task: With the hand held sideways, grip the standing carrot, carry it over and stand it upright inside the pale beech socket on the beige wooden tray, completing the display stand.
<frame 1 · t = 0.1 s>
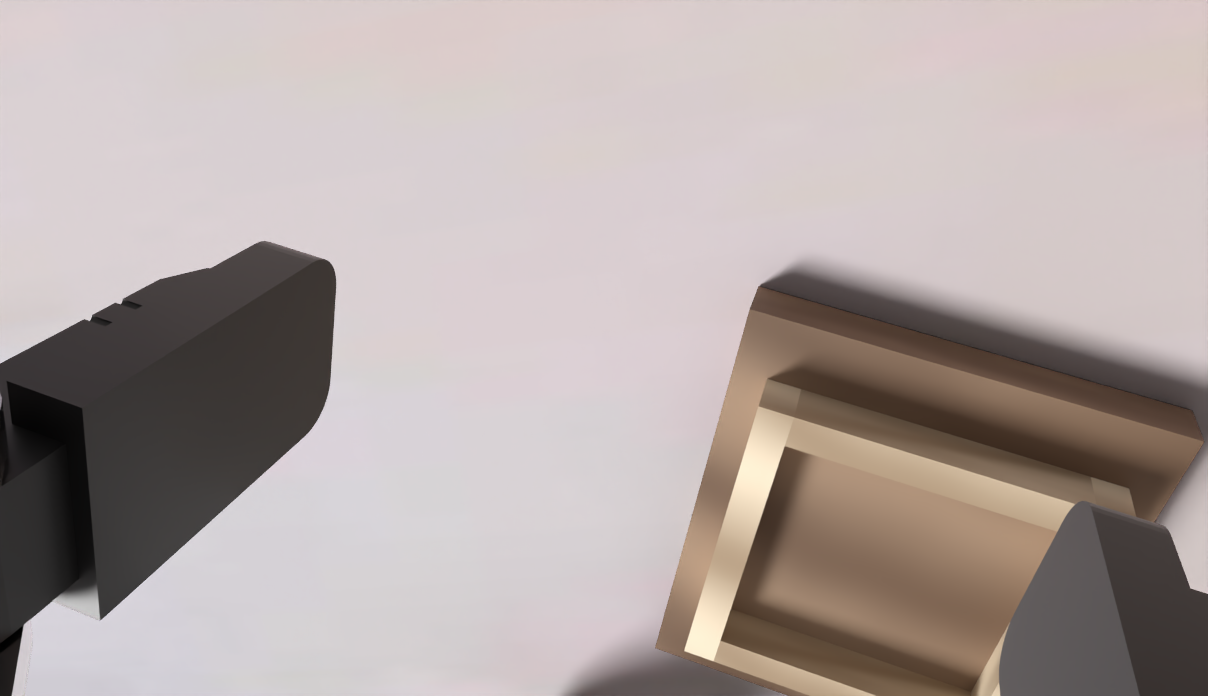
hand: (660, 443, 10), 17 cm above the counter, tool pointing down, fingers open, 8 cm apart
beige wooden tray: (888, 530, 31), on the counter
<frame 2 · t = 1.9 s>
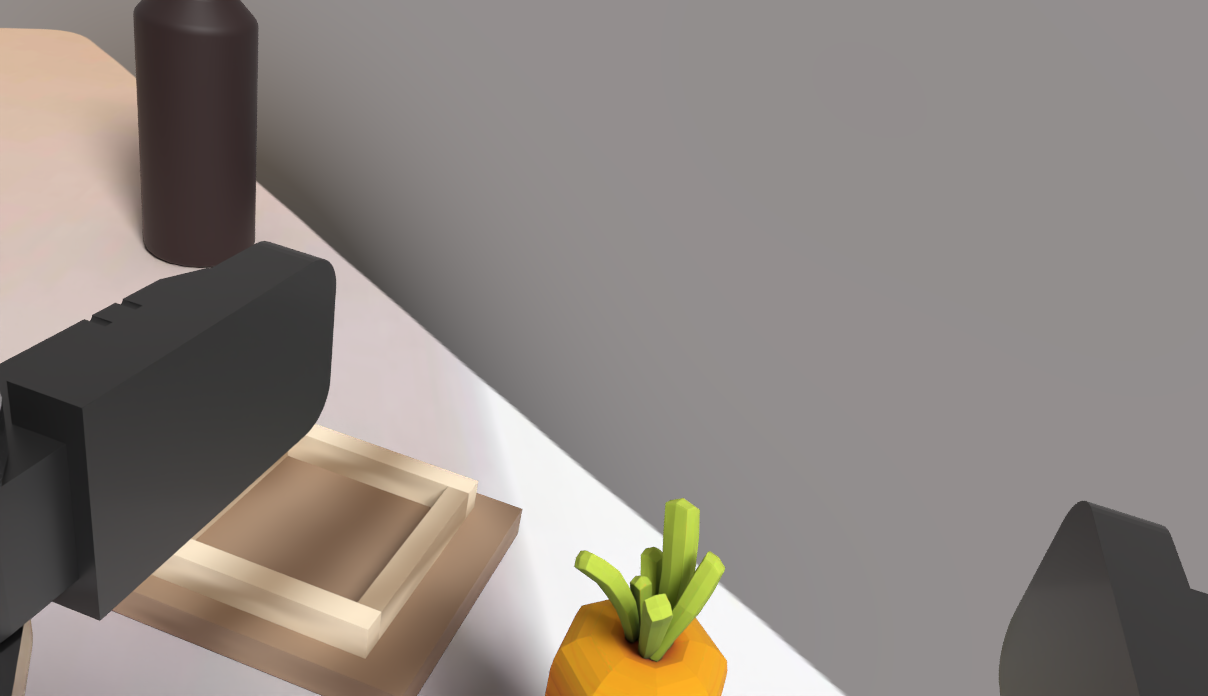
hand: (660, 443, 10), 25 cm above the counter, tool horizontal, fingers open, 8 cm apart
beige wooden tray: (316, 561, 42), on the counter
bottle: (200, 249, 65), on the counter
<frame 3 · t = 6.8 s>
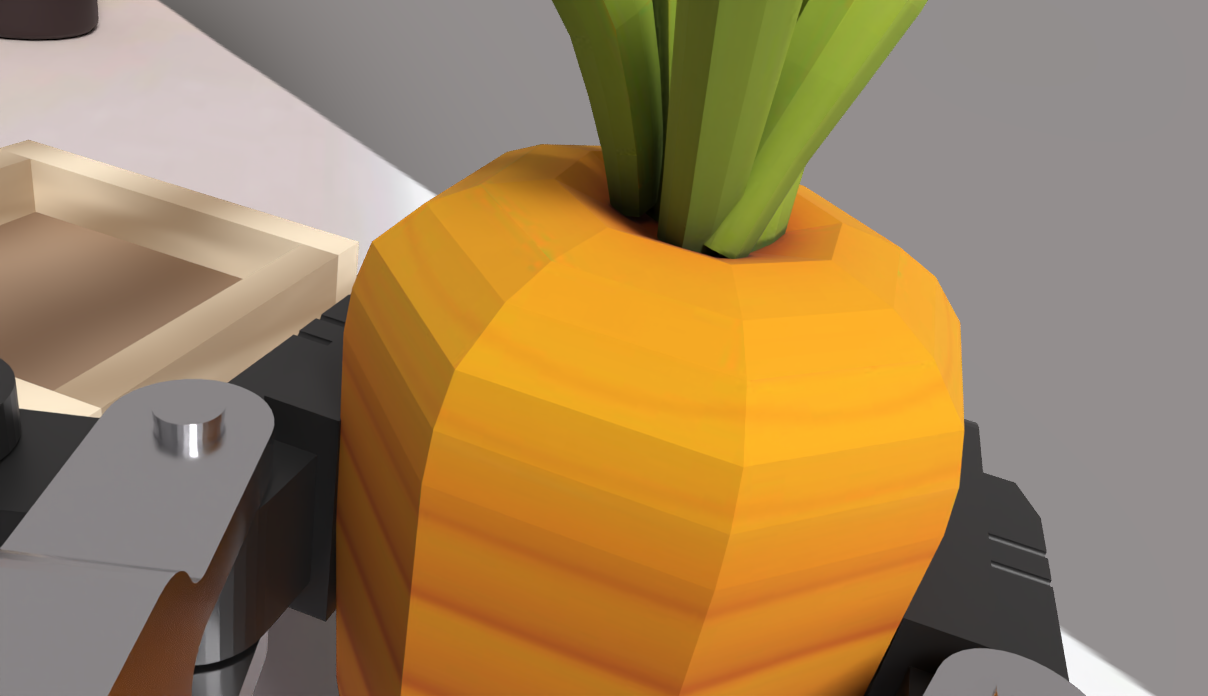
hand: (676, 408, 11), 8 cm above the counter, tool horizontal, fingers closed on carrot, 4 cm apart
beige wooden tray: (51, 368, 23), on the counter
bottle: (17, 25, 46), on the counter
when the fingers open (10 cm above the counter, at t = 12.4 s): carrot stays where it is, resting on beige wooden tray.
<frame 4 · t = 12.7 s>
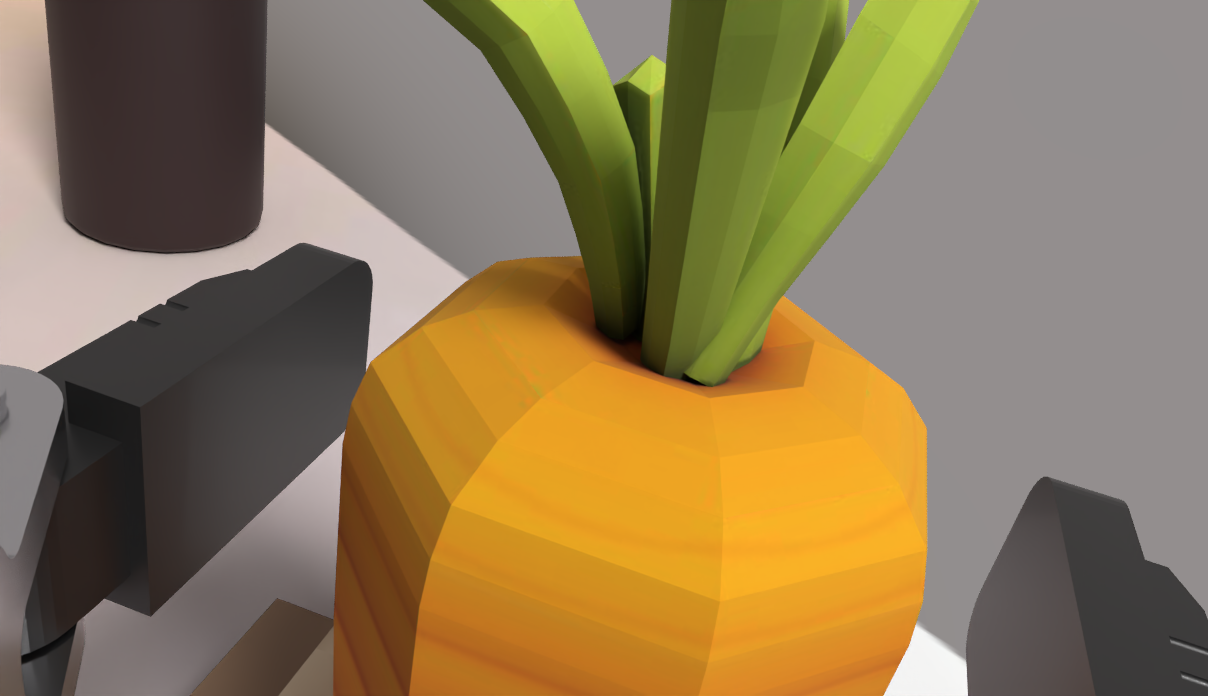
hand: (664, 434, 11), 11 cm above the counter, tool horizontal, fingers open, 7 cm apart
bottle: (166, 222, 37), on the counter
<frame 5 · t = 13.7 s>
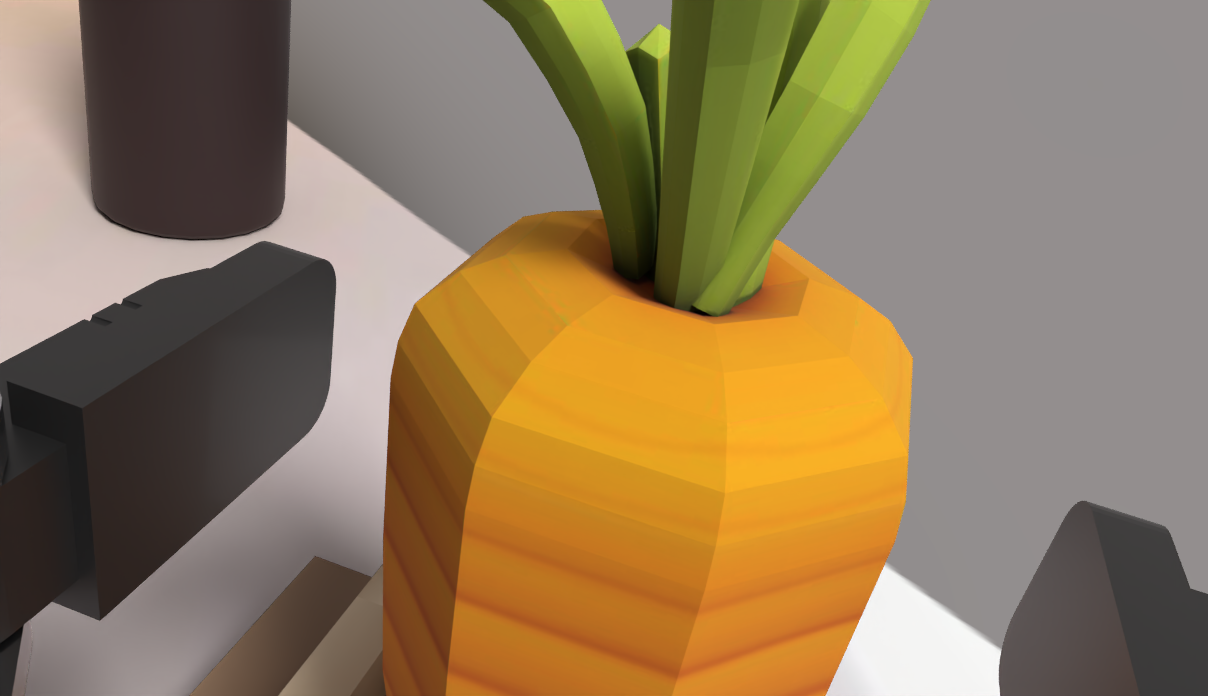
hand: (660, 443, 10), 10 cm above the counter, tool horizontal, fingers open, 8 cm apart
bottle: (192, 210, 38), on the counter
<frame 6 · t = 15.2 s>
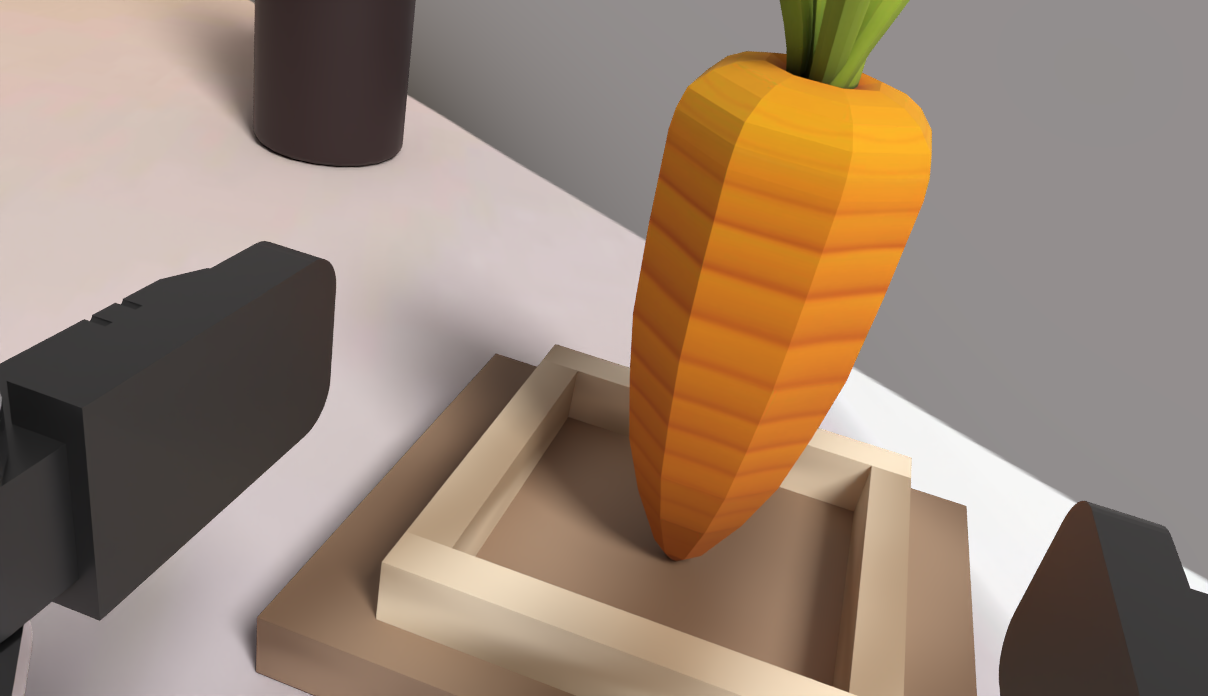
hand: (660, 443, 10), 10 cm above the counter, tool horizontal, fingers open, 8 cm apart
beige wooden tray: (659, 599, 24), on the counter
bottle: (328, 146, 46), on the counter
carrot: (673, 563, 23), point 1 cm above the counter, touching beige wooden tray
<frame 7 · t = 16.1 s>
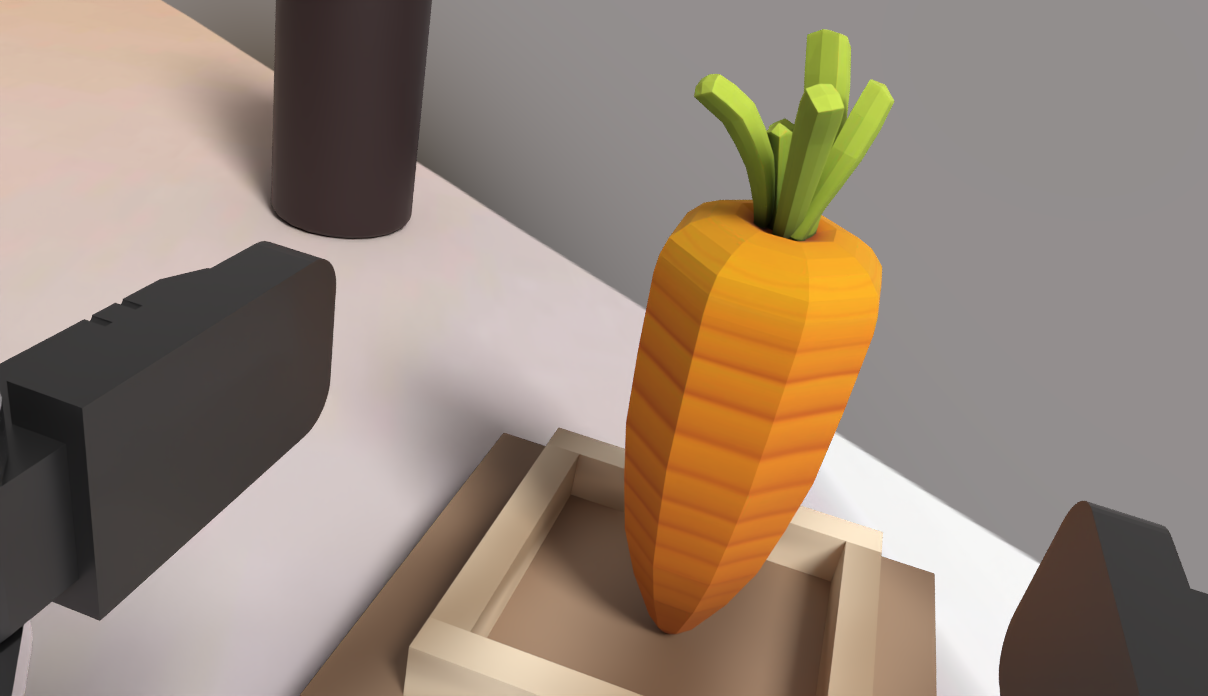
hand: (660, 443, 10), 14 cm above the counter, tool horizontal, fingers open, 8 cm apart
beige wooden tray: (655, 666, 26), on the counter
bottle: (342, 217, 49), on the counter
carrot: (666, 635, 25), point 1 cm above the counter, touching beige wooden tray
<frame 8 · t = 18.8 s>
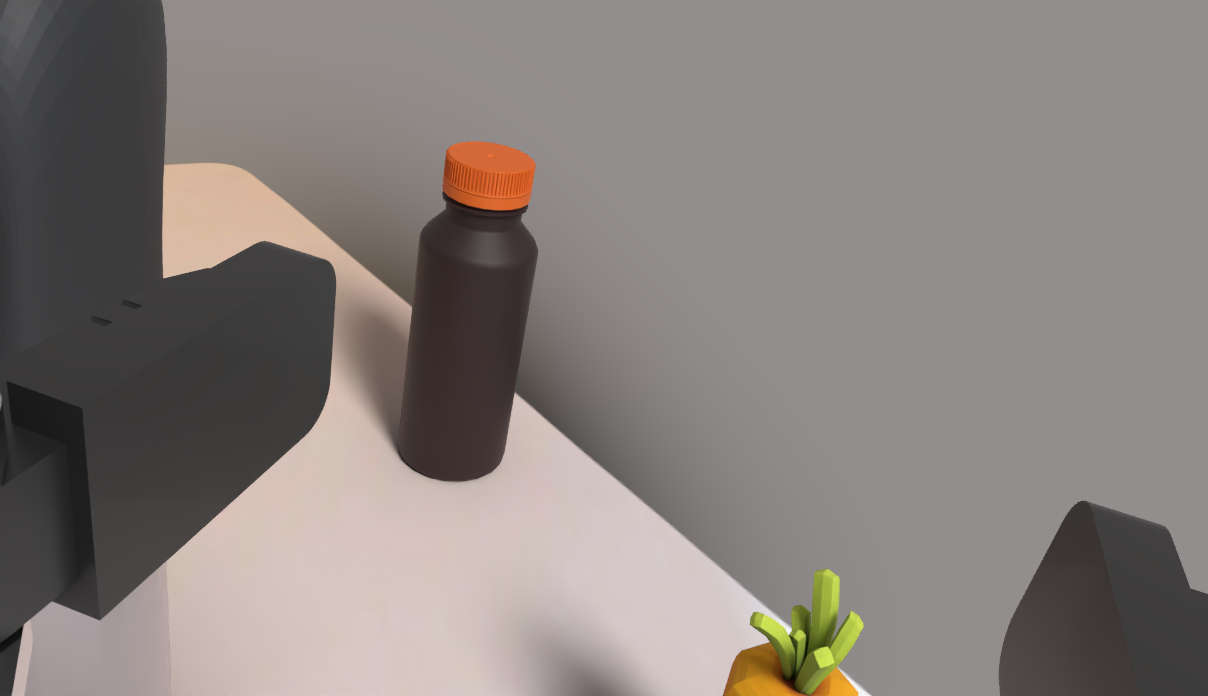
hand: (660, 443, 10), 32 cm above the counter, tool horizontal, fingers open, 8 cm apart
bottle: (450, 454, 63), on the counter
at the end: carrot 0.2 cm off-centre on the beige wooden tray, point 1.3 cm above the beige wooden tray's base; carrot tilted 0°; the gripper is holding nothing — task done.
